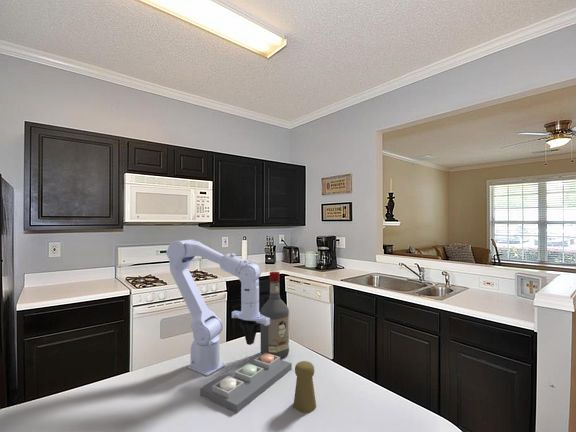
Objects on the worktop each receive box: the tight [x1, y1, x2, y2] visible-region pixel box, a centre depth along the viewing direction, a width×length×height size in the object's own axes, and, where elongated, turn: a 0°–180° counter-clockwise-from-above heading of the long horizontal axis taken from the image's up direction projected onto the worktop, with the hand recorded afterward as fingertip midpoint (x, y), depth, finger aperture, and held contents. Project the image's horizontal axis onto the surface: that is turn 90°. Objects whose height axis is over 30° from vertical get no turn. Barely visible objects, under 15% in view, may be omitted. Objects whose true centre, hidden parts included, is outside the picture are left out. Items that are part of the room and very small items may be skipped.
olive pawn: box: [293, 360, 317, 414], centre depth 77 cm, size 6×6×11 cm
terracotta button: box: [261, 354, 274, 364], centre depth 97 cm, size 4×4×2 cm
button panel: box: [199, 352, 293, 414], centre depth 89 cm, size 14×26×3 cm, turn 147°
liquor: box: [259, 271, 290, 360], centre depth 107 cm, size 9×9×30 cm
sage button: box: [242, 365, 257, 376], centre depth 89 cm, size 4×4×2 cm
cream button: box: [220, 378, 236, 391], centre depth 82 cm, size 4×4×2 cm
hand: (250, 343), depth 94 cm, fingers closed
